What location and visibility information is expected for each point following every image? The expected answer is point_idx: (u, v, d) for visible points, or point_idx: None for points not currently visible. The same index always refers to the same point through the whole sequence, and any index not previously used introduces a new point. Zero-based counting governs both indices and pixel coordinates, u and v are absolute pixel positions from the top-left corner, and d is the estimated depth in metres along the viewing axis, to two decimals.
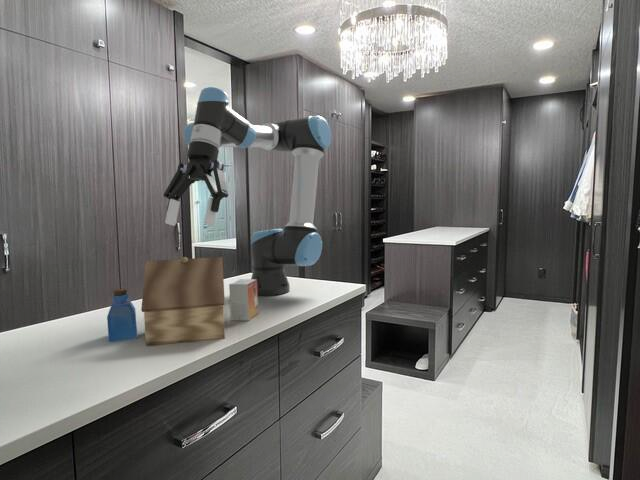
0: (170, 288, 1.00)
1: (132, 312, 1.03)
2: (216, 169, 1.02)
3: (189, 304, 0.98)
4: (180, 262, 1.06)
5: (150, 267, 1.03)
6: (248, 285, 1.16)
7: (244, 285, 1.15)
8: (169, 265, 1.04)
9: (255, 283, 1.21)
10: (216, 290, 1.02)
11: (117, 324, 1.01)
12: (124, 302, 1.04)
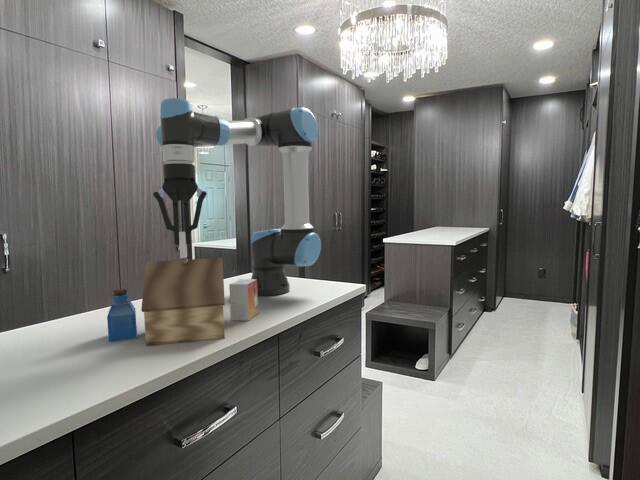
0: (170, 289, 1.00)
1: (132, 312, 1.03)
2: (201, 201, 1.04)
3: (189, 304, 0.98)
4: (180, 263, 1.06)
5: (150, 268, 1.04)
6: (248, 285, 1.16)
7: (244, 285, 1.15)
8: (169, 266, 1.05)
9: (255, 283, 1.21)
10: (216, 290, 1.02)
11: (117, 324, 1.01)
12: (124, 302, 1.04)
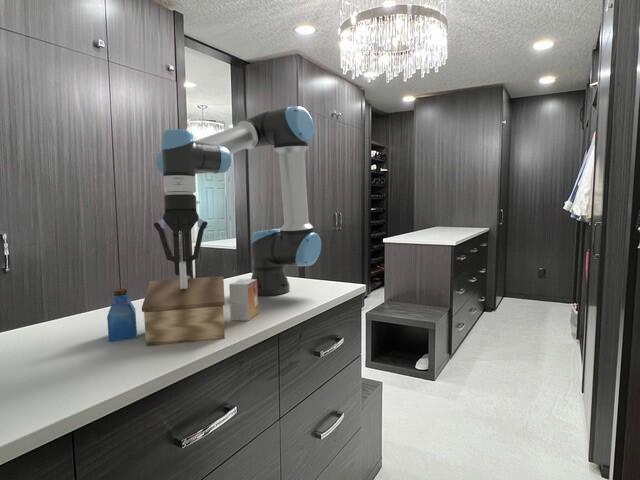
0: (171, 295, 1.02)
1: (132, 312, 1.03)
2: (202, 231, 1.04)
3: (189, 303, 0.99)
4: None
5: (153, 284, 1.07)
6: (248, 285, 1.16)
7: (244, 285, 1.15)
8: (172, 282, 1.08)
9: (255, 283, 1.21)
10: (216, 294, 1.03)
11: (117, 324, 1.01)
12: (124, 302, 1.04)
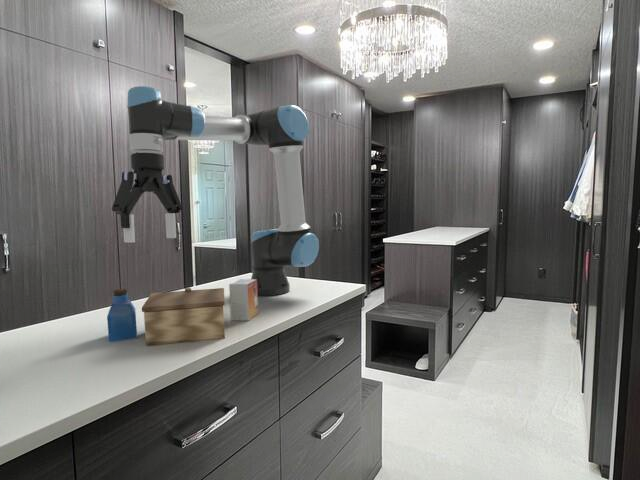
0: (172, 299, 1.03)
1: (132, 312, 1.03)
2: (172, 185, 1.08)
3: (189, 303, 0.99)
4: (183, 291, 1.11)
5: (154, 294, 1.08)
6: (248, 285, 1.16)
7: (244, 285, 1.15)
8: (173, 293, 1.09)
9: (255, 283, 1.21)
10: (216, 297, 1.04)
11: (117, 324, 1.01)
12: (124, 302, 1.04)
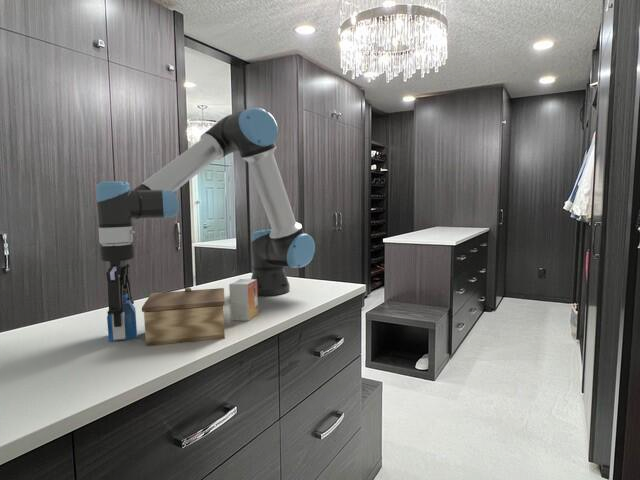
0: (172, 299, 1.03)
1: (132, 312, 1.03)
2: (129, 274, 1.10)
3: (189, 303, 0.99)
4: (183, 291, 1.11)
5: (154, 294, 1.08)
6: (248, 285, 1.16)
7: (244, 285, 1.15)
8: (173, 293, 1.09)
9: (255, 283, 1.21)
10: (216, 297, 1.04)
11: None
12: (124, 302, 1.04)
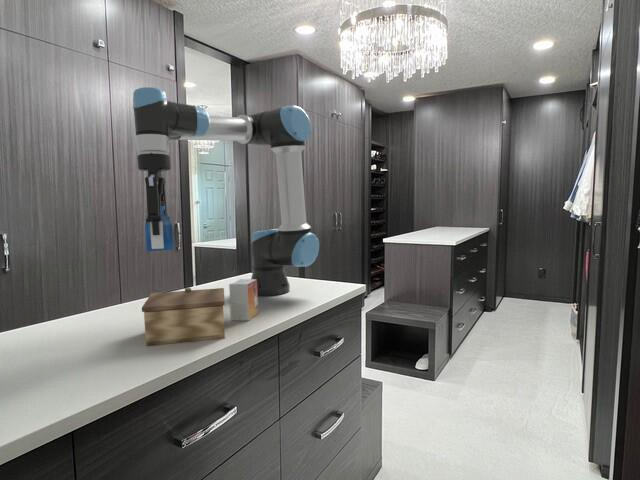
0: (172, 299, 1.03)
1: (169, 222, 1.02)
2: None
3: (189, 303, 0.99)
4: (183, 291, 1.11)
5: (154, 294, 1.08)
6: (248, 285, 1.16)
7: (244, 285, 1.15)
8: (173, 293, 1.09)
9: (255, 283, 1.21)
10: (216, 297, 1.04)
11: None
12: (161, 213, 1.02)
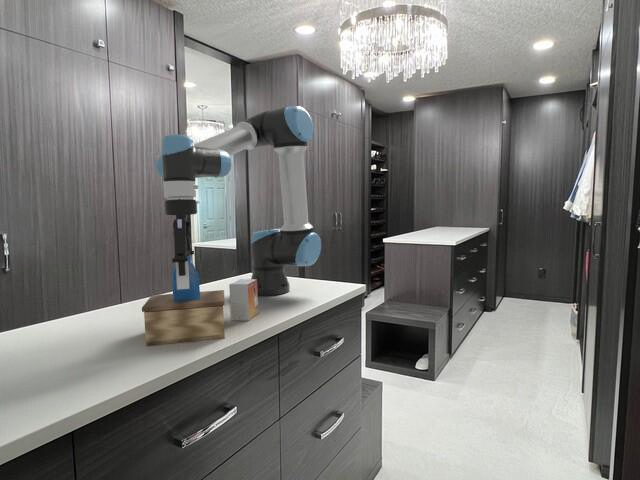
0: (172, 300, 1.03)
1: (196, 273, 1.03)
2: None
3: (189, 303, 0.99)
4: None
5: (154, 296, 1.08)
6: (248, 285, 1.16)
7: (244, 285, 1.15)
8: None
9: (255, 283, 1.21)
10: (216, 298, 1.04)
11: None
12: (188, 263, 1.04)
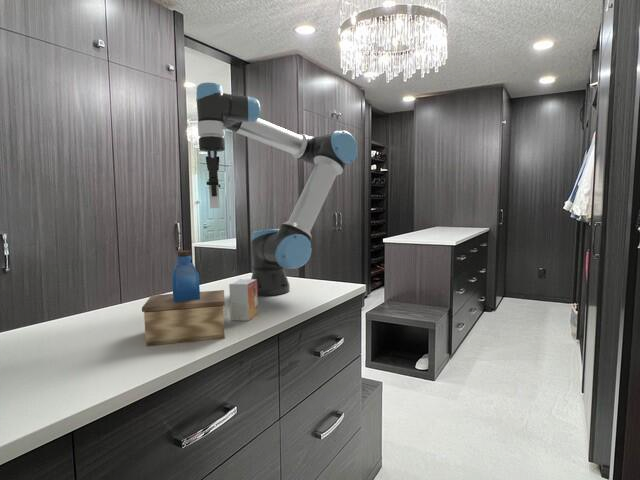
0: (172, 300, 1.03)
1: (196, 273, 1.03)
2: None
3: (189, 303, 0.99)
4: None
5: (154, 296, 1.08)
6: (248, 285, 1.16)
7: (244, 285, 1.15)
8: None
9: (255, 283, 1.21)
10: (216, 298, 1.04)
11: (182, 284, 1.02)
12: (188, 263, 1.04)
